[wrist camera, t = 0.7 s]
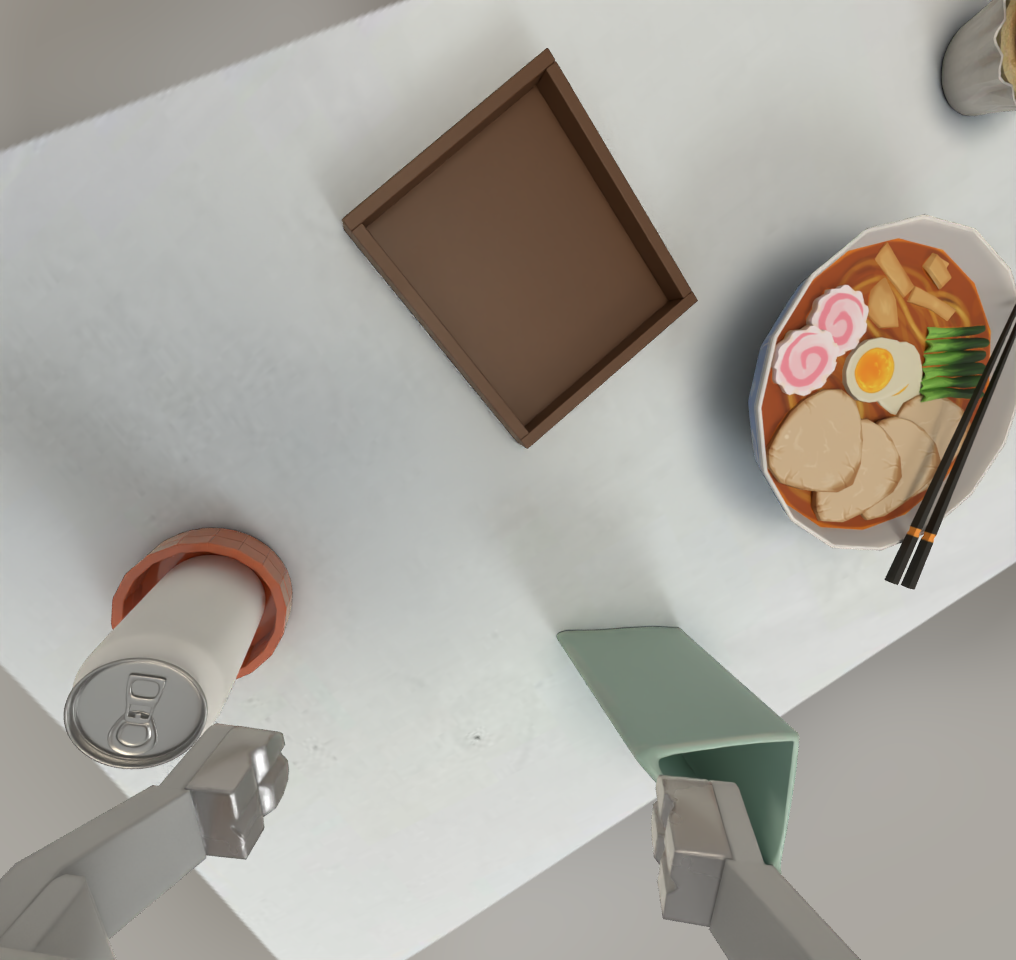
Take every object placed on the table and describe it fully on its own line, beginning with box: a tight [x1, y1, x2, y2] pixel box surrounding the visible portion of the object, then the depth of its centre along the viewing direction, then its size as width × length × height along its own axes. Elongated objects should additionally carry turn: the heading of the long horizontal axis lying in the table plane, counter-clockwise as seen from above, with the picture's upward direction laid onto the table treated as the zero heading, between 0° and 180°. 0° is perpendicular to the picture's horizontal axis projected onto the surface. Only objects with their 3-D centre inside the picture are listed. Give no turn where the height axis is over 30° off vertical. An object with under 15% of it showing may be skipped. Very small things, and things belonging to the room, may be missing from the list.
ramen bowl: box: [748, 214, 1016, 589], centre depth 39 cm, size 25×23×8 cm
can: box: [64, 555, 265, 769], centre depth 29 cm, size 6×6×12 cm
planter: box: [557, 627, 799, 874], centre depth 36 cm, size 16×8×20 cm, turn 42°
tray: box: [342, 48, 698, 449], centre depth 34 cm, size 18×16×2 cm
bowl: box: [111, 528, 293, 680], centre depth 34 cm, size 10×10×3 cm
